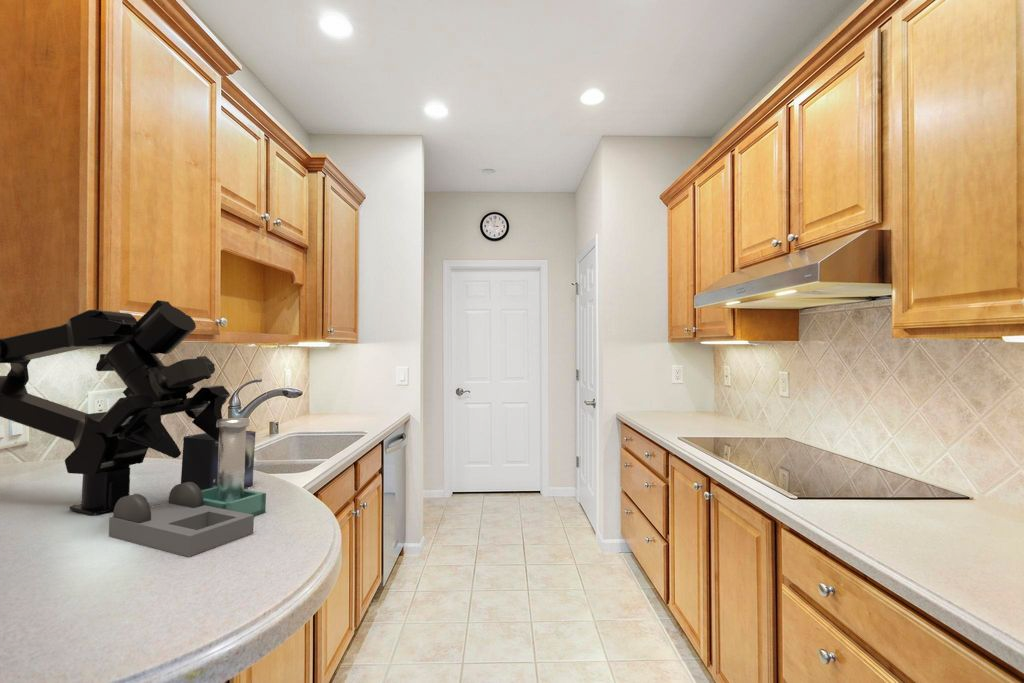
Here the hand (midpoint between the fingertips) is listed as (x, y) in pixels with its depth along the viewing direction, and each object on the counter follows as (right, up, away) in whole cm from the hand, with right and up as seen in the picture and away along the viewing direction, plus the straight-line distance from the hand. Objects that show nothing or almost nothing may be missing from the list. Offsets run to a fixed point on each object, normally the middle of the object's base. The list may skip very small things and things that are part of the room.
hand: (203, 449), depth 76 cm
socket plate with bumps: (+3, -10, -9) cm, 14 cm away
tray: (+3, -10, 0) cm, 10 cm away
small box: (-5, -11, +12) cm, 17 cm away
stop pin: (+4, -9, -1) cm, 10 cm away
